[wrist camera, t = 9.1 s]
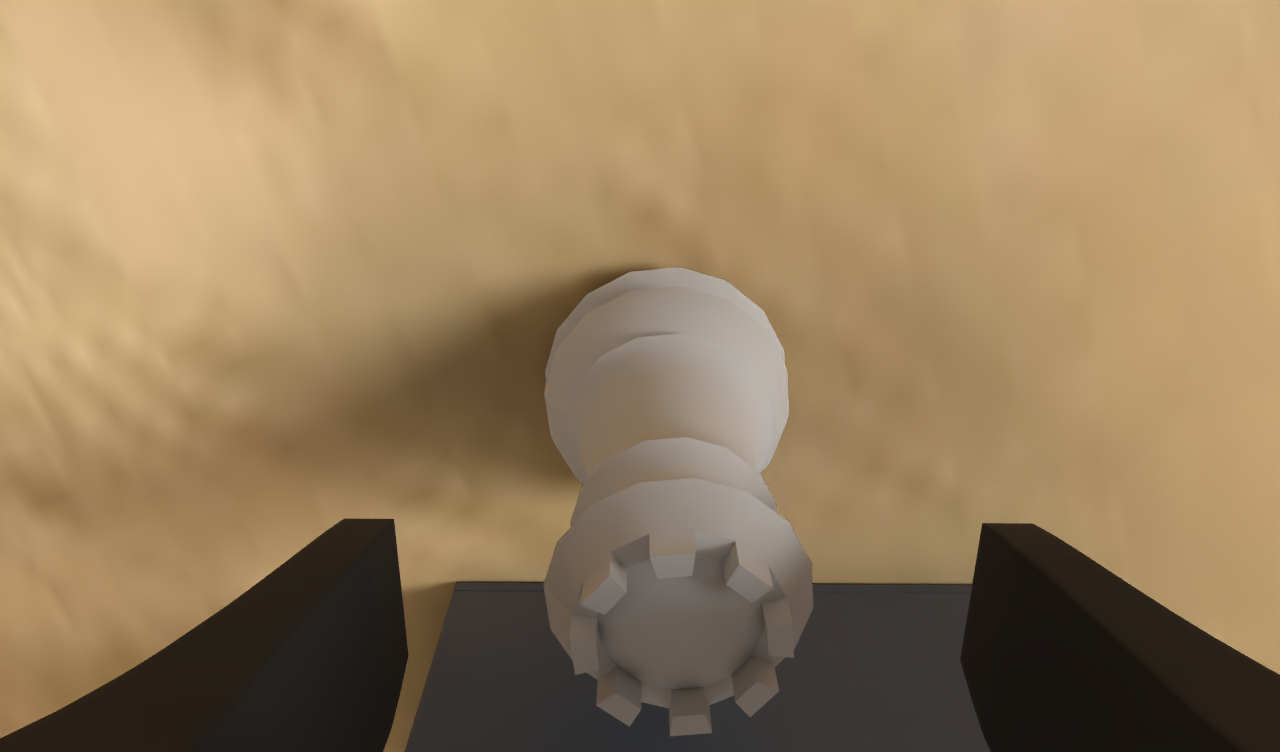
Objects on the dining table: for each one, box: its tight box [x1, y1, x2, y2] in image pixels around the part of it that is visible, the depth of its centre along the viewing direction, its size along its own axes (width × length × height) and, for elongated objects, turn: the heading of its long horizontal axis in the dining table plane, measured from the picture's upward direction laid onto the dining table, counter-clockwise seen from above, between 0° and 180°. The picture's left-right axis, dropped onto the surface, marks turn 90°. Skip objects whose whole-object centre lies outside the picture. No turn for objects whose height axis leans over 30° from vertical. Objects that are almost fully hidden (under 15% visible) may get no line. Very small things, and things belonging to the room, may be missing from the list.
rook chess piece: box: [543, 267, 813, 736], centre depth 14 cm, size 4×4×8 cm
